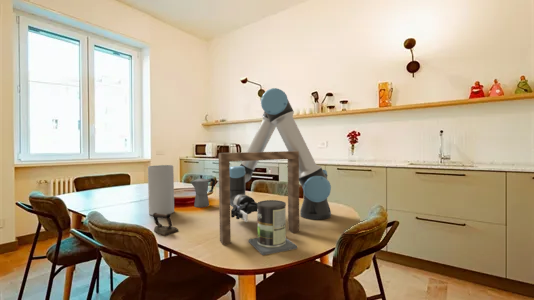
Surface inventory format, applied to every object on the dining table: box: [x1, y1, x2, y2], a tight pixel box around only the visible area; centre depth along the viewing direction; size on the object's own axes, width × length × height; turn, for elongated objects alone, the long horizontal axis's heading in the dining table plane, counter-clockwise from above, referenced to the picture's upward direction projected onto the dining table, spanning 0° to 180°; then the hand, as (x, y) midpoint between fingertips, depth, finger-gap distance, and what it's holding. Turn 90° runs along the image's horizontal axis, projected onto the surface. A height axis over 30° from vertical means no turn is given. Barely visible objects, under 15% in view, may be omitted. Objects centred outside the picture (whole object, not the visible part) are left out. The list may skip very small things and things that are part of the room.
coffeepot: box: [189, 174, 216, 208], centre depth 159 cm, size 15×9×18 cm, turn 125°
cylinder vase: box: [147, 164, 175, 216], centre depth 142 cm, size 12×12×25 cm
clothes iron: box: [152, 213, 179, 237], centre depth 112 cm, size 7×11×10 cm, turn 60°
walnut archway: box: [218, 150, 300, 246], centre depth 105 cm, size 32×4×33 cm, turn 114°
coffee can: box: [256, 199, 287, 248], centre depth 96 cm, size 10×10×14 cm
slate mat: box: [248, 237, 298, 256], centre depth 96 cm, size 13×13×1 cm
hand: (264, 215), depth 98 cm, fingers open, 13 cm apart
